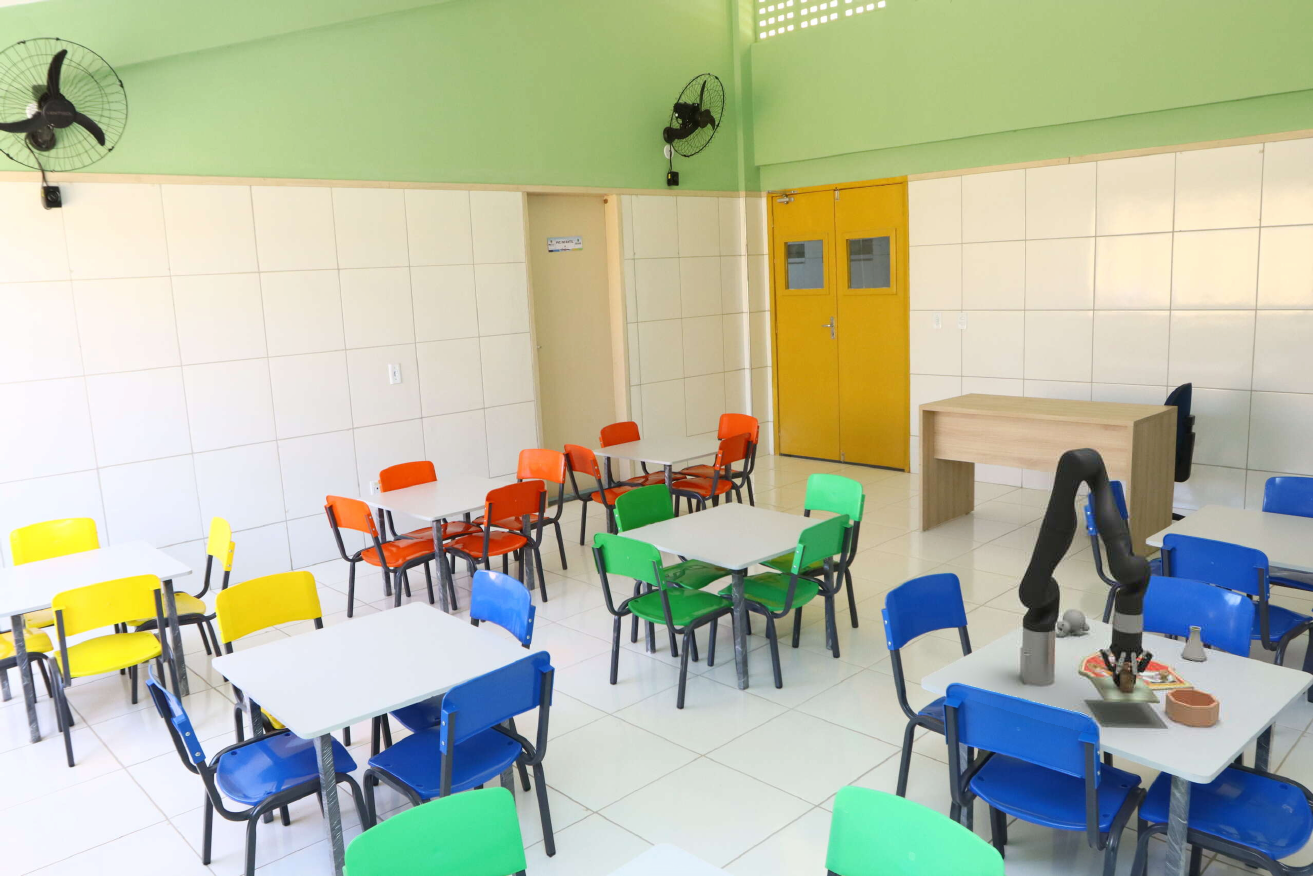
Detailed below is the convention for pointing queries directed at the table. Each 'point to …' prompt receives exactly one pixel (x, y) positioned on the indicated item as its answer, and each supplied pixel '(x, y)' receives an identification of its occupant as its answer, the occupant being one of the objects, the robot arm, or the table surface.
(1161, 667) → the knob puzzle
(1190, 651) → the flask
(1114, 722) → the mat
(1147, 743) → the table surface
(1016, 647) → the table surface
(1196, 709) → the bowl
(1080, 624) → the round bodied animal figurine
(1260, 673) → the table surface
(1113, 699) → the lid
